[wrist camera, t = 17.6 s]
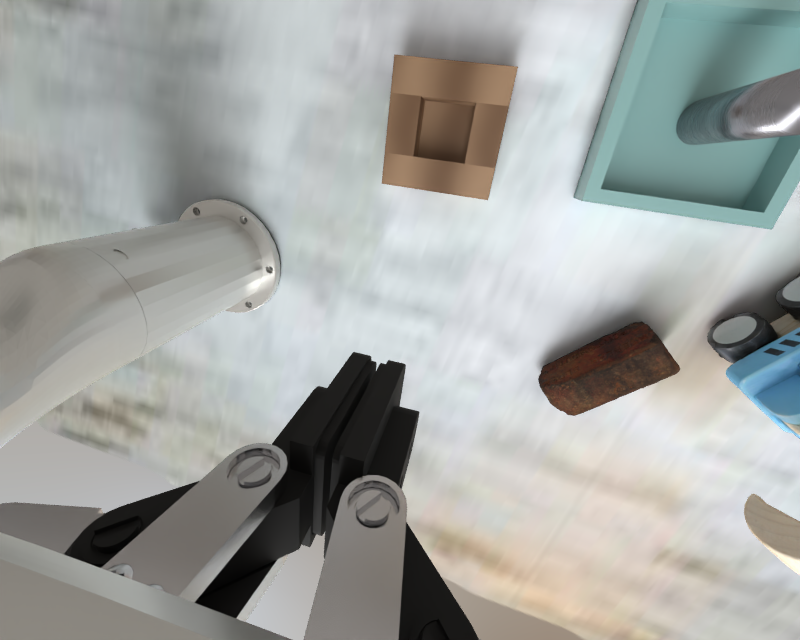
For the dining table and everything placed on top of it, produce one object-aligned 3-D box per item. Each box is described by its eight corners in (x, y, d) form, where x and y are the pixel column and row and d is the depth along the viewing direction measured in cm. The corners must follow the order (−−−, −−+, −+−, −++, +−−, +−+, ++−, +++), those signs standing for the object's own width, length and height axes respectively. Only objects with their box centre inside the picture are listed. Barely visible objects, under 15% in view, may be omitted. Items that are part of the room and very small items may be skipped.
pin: (668, 142, 26) (761, 130, 17) (688, 95, 25) (798, 57, 16) (712, 147, 26) (831, 138, 17) (734, 100, 25) (874, 64, 16)
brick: (639, 315, 32) (661, 337, 28) (660, 347, 33) (684, 373, 29) (534, 368, 37) (540, 393, 33) (555, 395, 38) (563, 423, 33)
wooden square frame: (390, 181, 33) (381, 183, 30) (403, 64, 29) (394, 54, 26) (487, 197, 31) (487, 200, 28) (514, 76, 27) (517, 66, 25)
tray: (573, 197, 30) (581, 200, 27) (637, 0, 24) (655, -20, 21) (744, 223, 28) (771, 229, 25) (856, 15, 22) (906, -5, 20)
